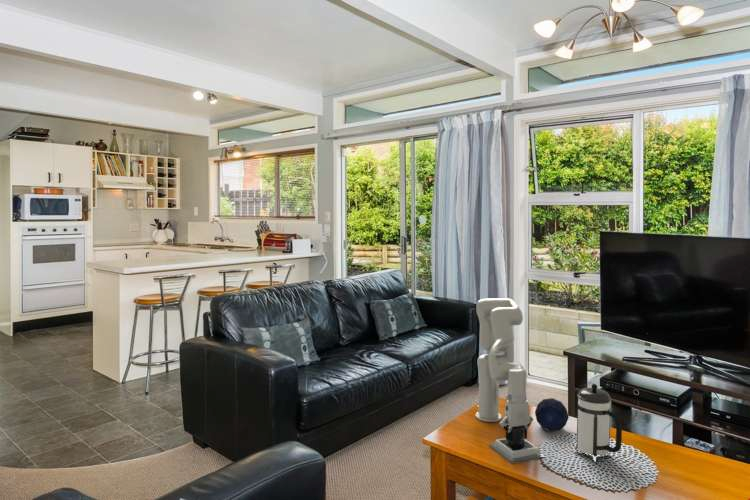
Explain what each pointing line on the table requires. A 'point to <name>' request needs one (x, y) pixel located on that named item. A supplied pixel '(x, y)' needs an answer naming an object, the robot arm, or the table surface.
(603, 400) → the coffee press
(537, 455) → the rimmed tray
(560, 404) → the decorative orb
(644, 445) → the table surface
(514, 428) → the supplement bottle
